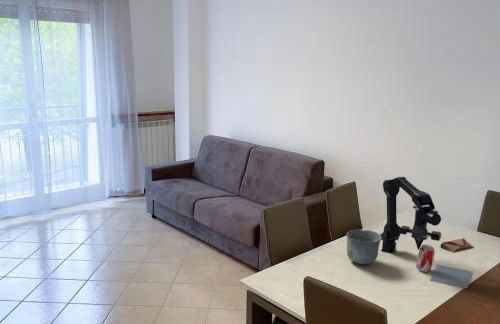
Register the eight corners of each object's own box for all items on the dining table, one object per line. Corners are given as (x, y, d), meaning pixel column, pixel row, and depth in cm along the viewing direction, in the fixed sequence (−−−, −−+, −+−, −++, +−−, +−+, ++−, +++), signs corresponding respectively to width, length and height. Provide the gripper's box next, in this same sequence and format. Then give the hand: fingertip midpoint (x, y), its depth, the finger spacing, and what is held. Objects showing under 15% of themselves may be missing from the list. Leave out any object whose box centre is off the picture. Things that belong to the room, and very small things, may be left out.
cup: (387, 262, 229) (388, 234, 225) (370, 273, 216) (371, 244, 213) (356, 253, 240) (357, 226, 237) (338, 263, 228) (339, 235, 225)
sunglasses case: (453, 253, 239) (448, 240, 241) (443, 255, 246) (438, 243, 247) (475, 247, 247) (471, 235, 249) (465, 249, 253) (461, 238, 255)
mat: (429, 280, 209) (430, 279, 209) (437, 264, 225) (437, 264, 225) (467, 288, 200) (467, 288, 200) (472, 272, 217) (472, 271, 217)
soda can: (429, 274, 215) (434, 252, 212) (414, 269, 218) (419, 247, 215) (431, 269, 221) (436, 247, 218) (417, 264, 224) (421, 242, 221)
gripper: (397, 220, 214) (395, 250, 217) (438, 227, 204) (435, 259, 207) (402, 214, 223) (400, 243, 226) (442, 220, 214) (439, 251, 216)
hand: (418, 249), depth 219 cm, fingers closed
